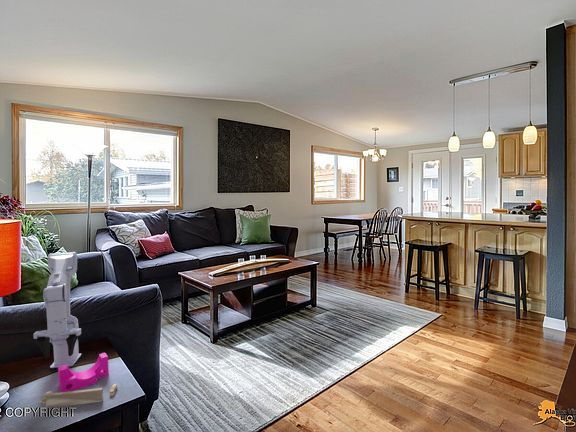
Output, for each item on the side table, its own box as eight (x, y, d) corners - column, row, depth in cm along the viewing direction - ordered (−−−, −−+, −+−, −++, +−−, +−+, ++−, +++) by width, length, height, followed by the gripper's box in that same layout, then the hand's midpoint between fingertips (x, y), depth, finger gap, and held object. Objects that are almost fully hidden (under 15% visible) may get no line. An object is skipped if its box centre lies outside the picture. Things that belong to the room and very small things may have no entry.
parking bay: (47, 395, 115) (47, 384, 115) (117, 387, 120) (116, 376, 119) (37, 409, 108) (36, 397, 108) (111, 400, 113) (110, 388, 112)
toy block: (62, 395, 116) (61, 373, 115) (58, 387, 120) (57, 366, 120) (110, 378, 126) (109, 358, 125) (105, 371, 130) (104, 352, 130)
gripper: (27, 324, 117) (30, 363, 118) (74, 321, 119) (76, 359, 120) (38, 317, 123) (40, 353, 125) (82, 314, 126) (84, 349, 127)
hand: (59, 355), depth 123 cm, fingers open, 7 cm apart
